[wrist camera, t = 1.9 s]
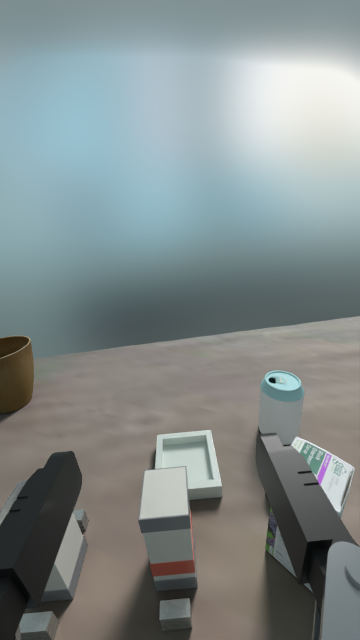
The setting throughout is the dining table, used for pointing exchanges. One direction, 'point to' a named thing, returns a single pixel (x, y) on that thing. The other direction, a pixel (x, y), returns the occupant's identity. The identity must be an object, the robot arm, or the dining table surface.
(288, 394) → the can
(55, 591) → the block
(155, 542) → the marked fuse
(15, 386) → the plant pot
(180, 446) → the tray
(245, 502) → the dining table surface
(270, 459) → the robot arm
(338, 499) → the syrup box
